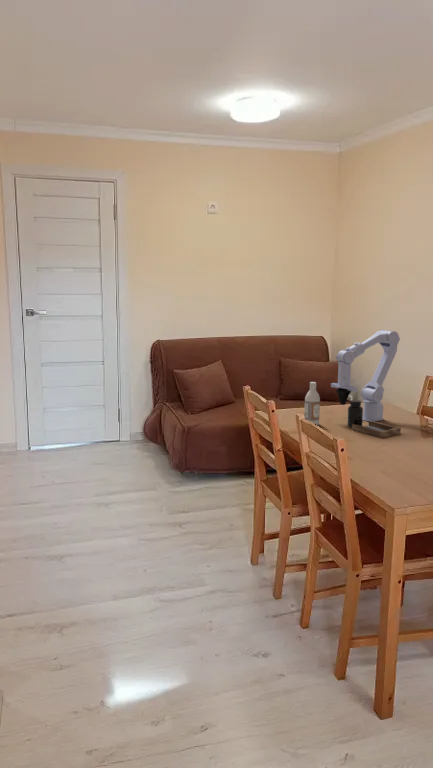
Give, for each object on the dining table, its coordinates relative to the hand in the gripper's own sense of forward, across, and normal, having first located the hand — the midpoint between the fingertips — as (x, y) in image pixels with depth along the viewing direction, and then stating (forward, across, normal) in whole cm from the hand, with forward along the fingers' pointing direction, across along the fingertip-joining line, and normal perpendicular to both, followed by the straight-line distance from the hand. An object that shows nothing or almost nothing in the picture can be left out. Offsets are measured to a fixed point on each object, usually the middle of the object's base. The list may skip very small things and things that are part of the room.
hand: (343, 404), depth 277 cm
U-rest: (+9, +19, 0) cm, 21 cm away
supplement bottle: (+9, +8, 0) cm, 12 cm away
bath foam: (+9, -6, -14) cm, 18 cm away
